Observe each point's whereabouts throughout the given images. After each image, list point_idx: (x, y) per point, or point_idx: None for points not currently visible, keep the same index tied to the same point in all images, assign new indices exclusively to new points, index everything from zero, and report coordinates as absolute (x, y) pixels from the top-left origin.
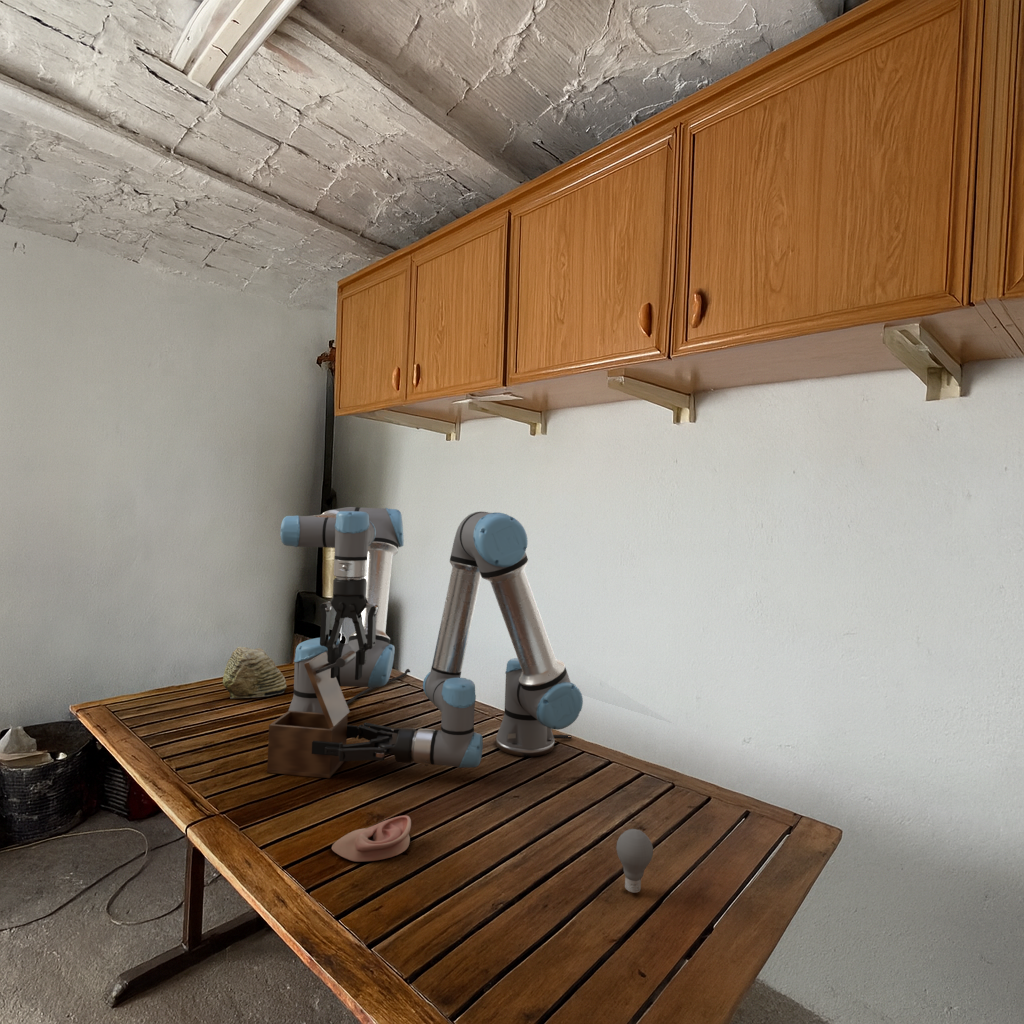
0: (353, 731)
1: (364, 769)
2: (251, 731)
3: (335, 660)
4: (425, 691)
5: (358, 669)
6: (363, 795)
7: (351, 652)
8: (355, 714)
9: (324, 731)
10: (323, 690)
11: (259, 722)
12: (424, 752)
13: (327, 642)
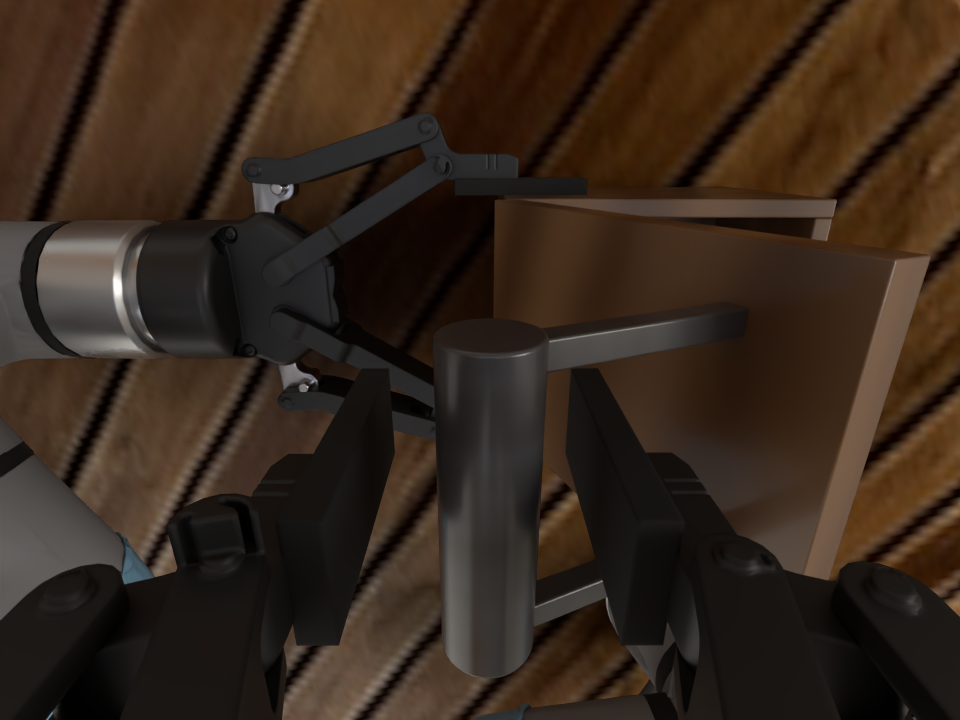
0: None
1: (408, 280)
2: (874, 487)
3: (599, 469)
4: (121, 569)
5: (340, 407)
6: (331, 73)
7: (469, 626)
8: (583, 655)
9: (541, 197)
10: (612, 276)
11: (866, 553)
12: (96, 220)
13: (814, 630)
